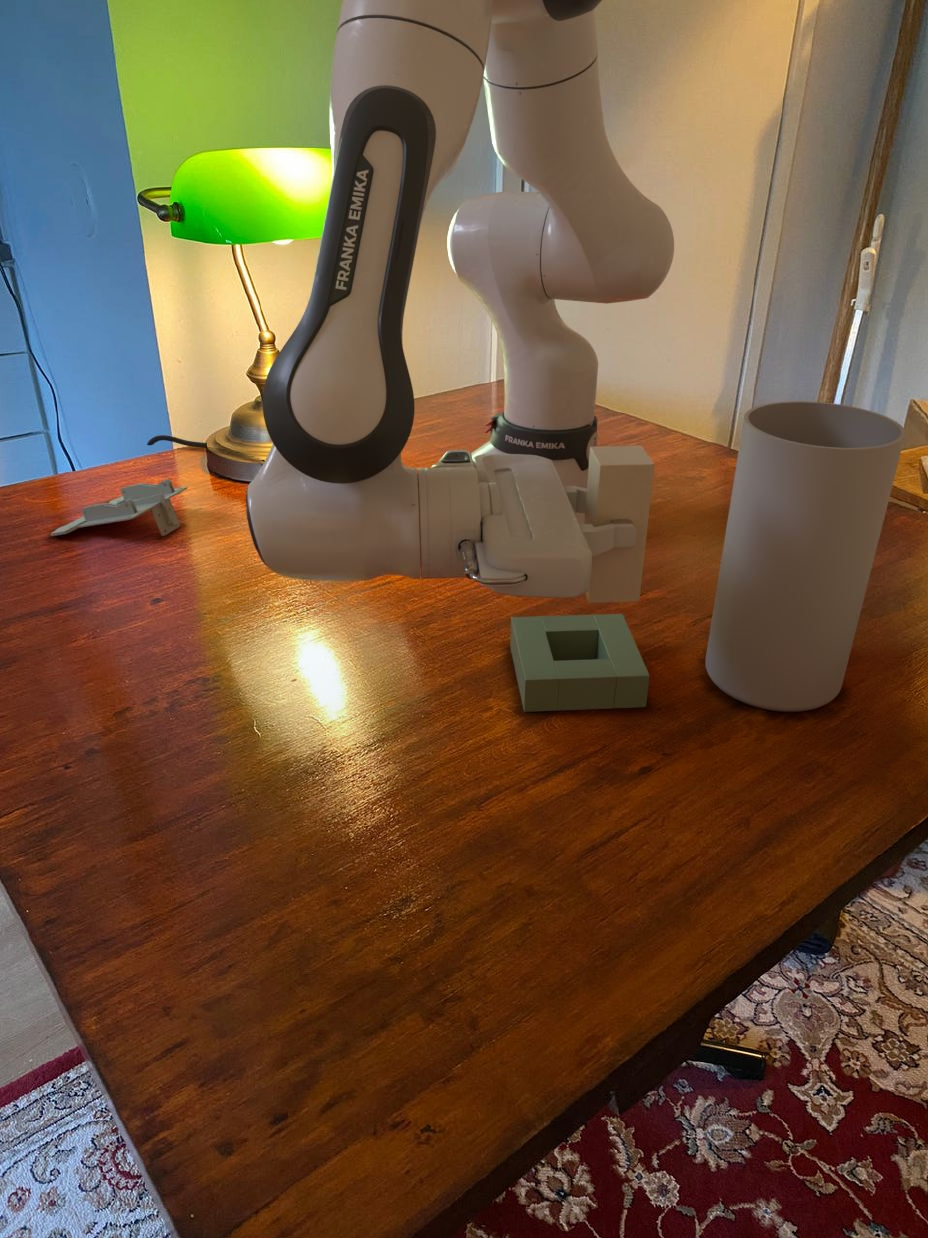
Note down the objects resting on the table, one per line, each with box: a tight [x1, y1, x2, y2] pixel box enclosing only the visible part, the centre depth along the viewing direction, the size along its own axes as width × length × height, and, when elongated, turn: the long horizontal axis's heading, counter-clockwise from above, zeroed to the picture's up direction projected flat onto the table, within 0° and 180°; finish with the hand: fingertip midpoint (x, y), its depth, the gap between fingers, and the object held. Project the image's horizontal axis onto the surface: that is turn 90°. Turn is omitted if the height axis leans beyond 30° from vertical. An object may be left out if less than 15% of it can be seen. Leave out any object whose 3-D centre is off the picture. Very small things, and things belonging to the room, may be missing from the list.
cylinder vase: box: [704, 400, 906, 713], centre depth 81 cm, size 12×12×25 cm
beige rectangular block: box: [584, 445, 655, 604], centre depth 74 cm, size 4×4×12 cm
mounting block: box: [509, 613, 650, 713], centre depth 86 cm, size 11×11×4 cm
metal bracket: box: [50, 478, 188, 537], centre depth 117 cm, size 14×6×15 cm
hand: (626, 517), depth 73 cm, fingers closed on beige rectangular block, 4 cm apart
